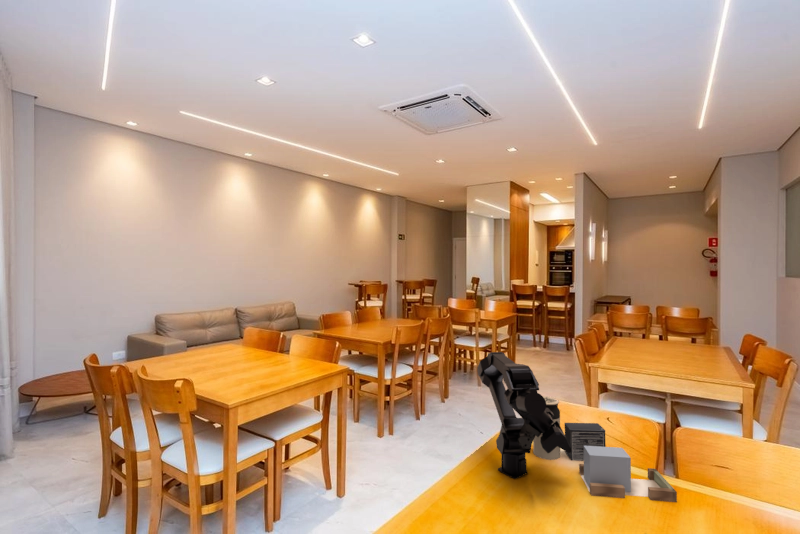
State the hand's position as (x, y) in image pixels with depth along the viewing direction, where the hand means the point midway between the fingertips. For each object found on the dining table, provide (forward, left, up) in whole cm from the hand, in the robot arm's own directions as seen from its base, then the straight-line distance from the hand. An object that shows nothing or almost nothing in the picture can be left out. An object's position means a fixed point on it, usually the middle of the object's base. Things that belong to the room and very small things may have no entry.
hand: (570, 451), depth 113 cm
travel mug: (-14, +10, -10) cm, 20 cm away
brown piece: (+10, +10, -9) cm, 17 cm away
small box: (-6, +18, -10) cm, 21 cm away
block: (+7, +6, -8) cm, 12 cm away
